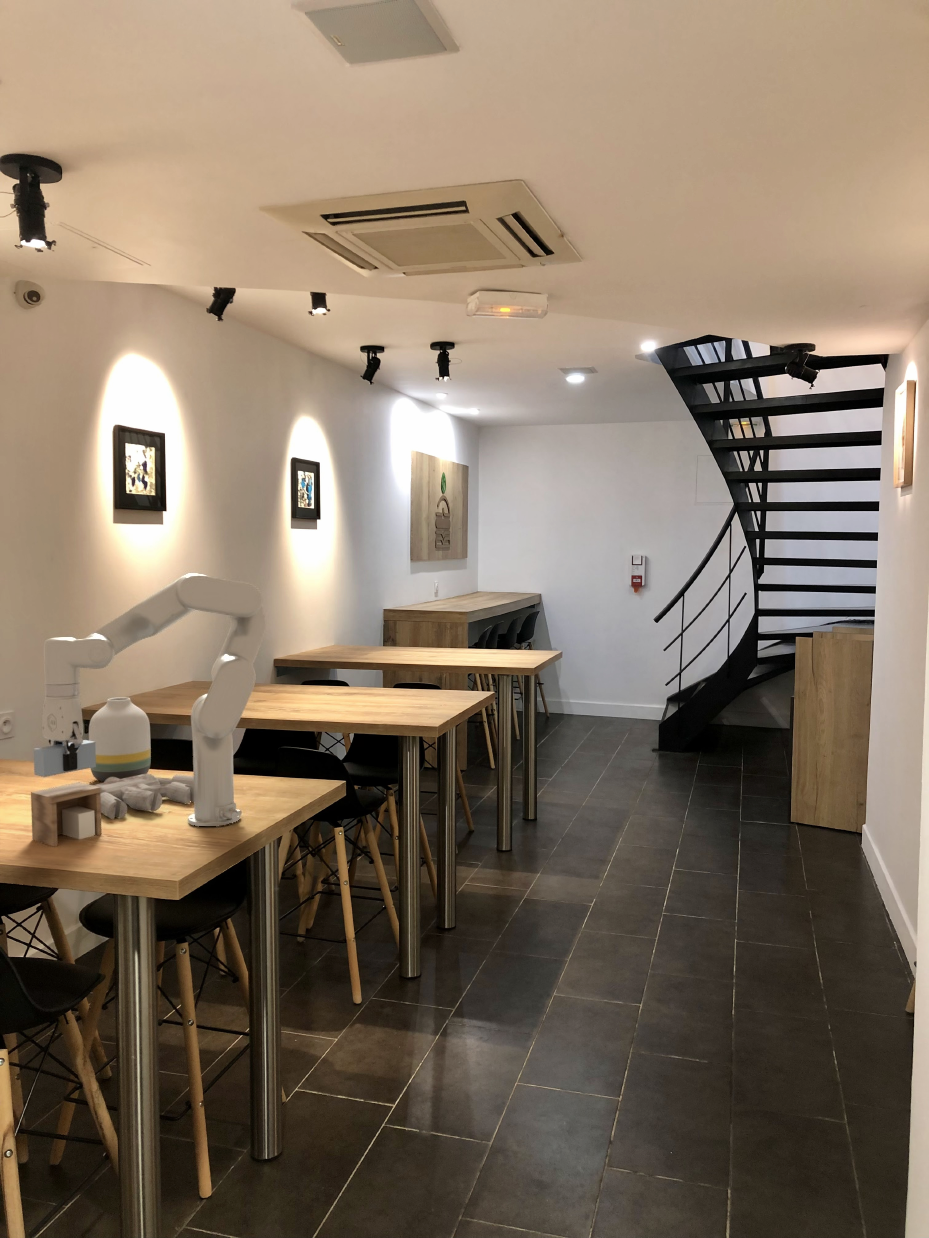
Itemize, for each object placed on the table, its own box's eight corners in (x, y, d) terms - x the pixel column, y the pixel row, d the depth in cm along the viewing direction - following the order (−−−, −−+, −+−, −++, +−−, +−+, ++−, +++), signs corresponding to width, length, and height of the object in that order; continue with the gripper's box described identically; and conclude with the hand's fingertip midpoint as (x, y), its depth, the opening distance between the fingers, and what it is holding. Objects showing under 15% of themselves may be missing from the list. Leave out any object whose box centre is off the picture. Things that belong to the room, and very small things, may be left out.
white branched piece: (218, 798, 255) (147, 780, 271) (218, 773, 254) (146, 756, 271) (121, 830, 229) (49, 808, 245) (120, 802, 228) (48, 781, 245)
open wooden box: (101, 834, 220) (100, 787, 219) (53, 846, 210) (51, 797, 209) (80, 827, 225) (78, 782, 224) (32, 839, 216) (30, 792, 215)
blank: (44, 777, 210) (43, 750, 210) (34, 774, 213) (33, 748, 212) (95, 766, 221) (95, 741, 221) (86, 764, 223) (85, 739, 223)
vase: (162, 778, 276) (160, 698, 274) (108, 789, 263) (105, 705, 261) (133, 770, 287) (131, 693, 285) (79, 780, 274) (77, 699, 273)
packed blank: (95, 835, 219) (94, 810, 219) (79, 839, 216) (78, 814, 215) (78, 830, 223) (77, 805, 223) (62, 834, 220) (62, 809, 220)
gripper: (27, 689, 217) (30, 767, 219) (67, 695, 207) (69, 776, 209) (58, 686, 223) (60, 761, 225) (98, 692, 214) (99, 770, 215)
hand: (64, 768), depth 217 cm, fingers closed on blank, 4 cm apart
